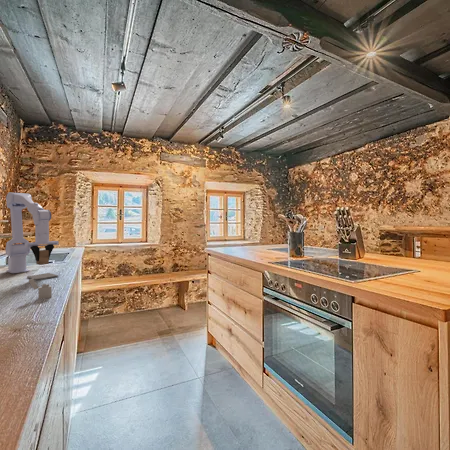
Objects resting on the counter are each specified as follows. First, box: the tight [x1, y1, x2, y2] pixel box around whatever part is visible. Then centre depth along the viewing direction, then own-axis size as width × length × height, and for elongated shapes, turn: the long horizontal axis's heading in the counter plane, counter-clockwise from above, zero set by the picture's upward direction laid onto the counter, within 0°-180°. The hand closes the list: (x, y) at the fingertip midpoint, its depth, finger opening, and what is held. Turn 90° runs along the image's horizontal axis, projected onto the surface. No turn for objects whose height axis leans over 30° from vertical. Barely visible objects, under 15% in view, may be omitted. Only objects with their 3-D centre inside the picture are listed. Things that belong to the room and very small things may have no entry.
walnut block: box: [35, 249, 50, 266], centre depth 133 cm, size 4×4×7 cm
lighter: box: [28, 278, 53, 300], centre depth 101 cm, size 7×2×8 cm, turn 121°
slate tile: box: [26, 272, 59, 282], centre depth 134 cm, size 10×10×1 cm
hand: (42, 260), depth 133 cm, fingers closed on walnut block, 4 cm apart
